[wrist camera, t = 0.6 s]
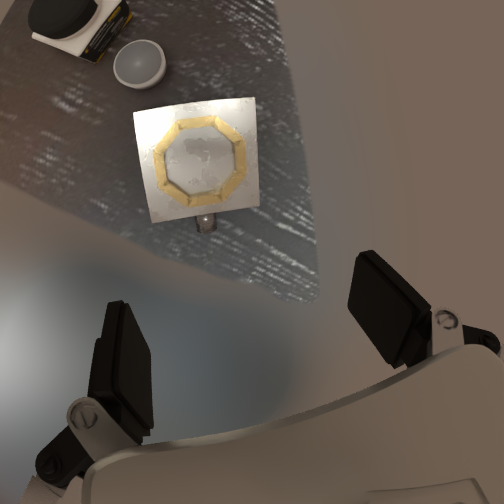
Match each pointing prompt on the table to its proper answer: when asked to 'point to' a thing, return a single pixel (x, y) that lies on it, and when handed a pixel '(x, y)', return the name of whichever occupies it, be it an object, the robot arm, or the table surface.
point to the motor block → (199, 159)
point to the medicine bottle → (79, 25)
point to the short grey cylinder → (140, 64)
